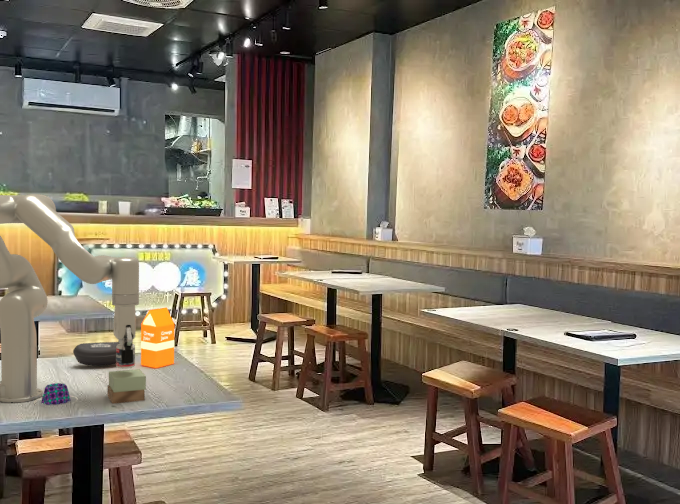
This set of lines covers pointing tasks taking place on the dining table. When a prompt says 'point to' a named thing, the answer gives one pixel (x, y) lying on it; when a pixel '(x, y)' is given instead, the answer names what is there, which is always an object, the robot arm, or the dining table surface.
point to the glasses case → (96, 353)
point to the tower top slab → (127, 380)
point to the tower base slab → (125, 396)
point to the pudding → (55, 395)
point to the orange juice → (157, 338)
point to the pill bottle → (118, 356)
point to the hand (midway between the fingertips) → (125, 360)
